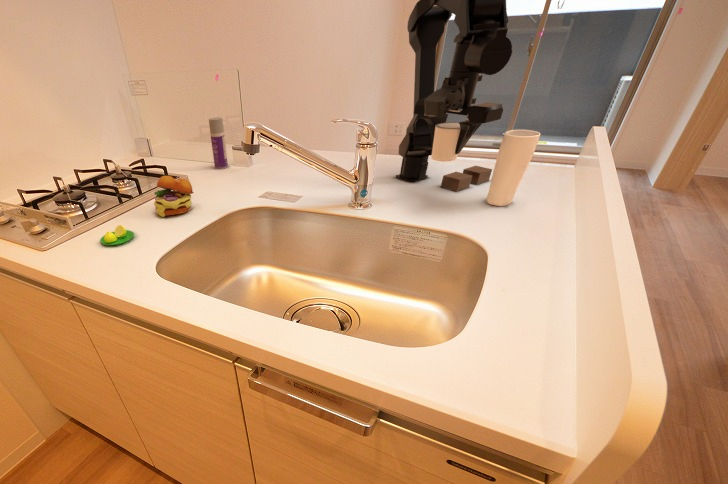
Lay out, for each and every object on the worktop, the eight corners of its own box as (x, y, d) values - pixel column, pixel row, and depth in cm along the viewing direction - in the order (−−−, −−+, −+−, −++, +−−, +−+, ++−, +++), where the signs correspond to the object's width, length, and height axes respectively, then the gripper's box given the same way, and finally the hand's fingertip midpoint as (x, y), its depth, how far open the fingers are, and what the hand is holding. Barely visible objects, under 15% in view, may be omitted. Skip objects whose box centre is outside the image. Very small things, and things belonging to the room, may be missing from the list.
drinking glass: (518, 208, 85) (546, 135, 75) (486, 208, 86) (510, 137, 76) (508, 197, 90) (534, 128, 80) (478, 197, 91) (500, 130, 81)
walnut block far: (460, 180, 101) (463, 169, 99) (472, 176, 103) (475, 165, 101) (476, 184, 98) (480, 173, 96) (488, 180, 100) (492, 169, 98)
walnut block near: (440, 187, 99) (443, 175, 97) (453, 182, 100) (456, 171, 98) (456, 191, 95) (459, 179, 93) (469, 187, 97) (472, 175, 95)
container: (213, 169, 128) (206, 120, 118) (216, 165, 131) (210, 117, 122) (226, 168, 127) (220, 119, 117) (229, 165, 130) (223, 116, 121)
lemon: (118, 230, 92) (115, 219, 90) (141, 235, 88) (138, 224, 87) (94, 243, 87) (89, 232, 85) (117, 249, 83) (113, 237, 82)
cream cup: (461, 155, 88) (470, 122, 84) (456, 163, 84) (465, 129, 80) (431, 153, 91) (439, 121, 87) (425, 160, 87) (432, 127, 83)
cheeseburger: (146, 214, 99) (143, 174, 94) (176, 210, 106) (174, 173, 102) (171, 220, 94) (169, 178, 89) (200, 216, 101) (200, 177, 96)
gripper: (403, 73, 80) (391, 150, 90) (480, 77, 68) (456, 166, 78) (438, 67, 84) (422, 142, 94) (517, 70, 71) (490, 156, 81)
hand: (445, 151), depth 87 cm, fingers closed on cream cup, 6 cm apart
